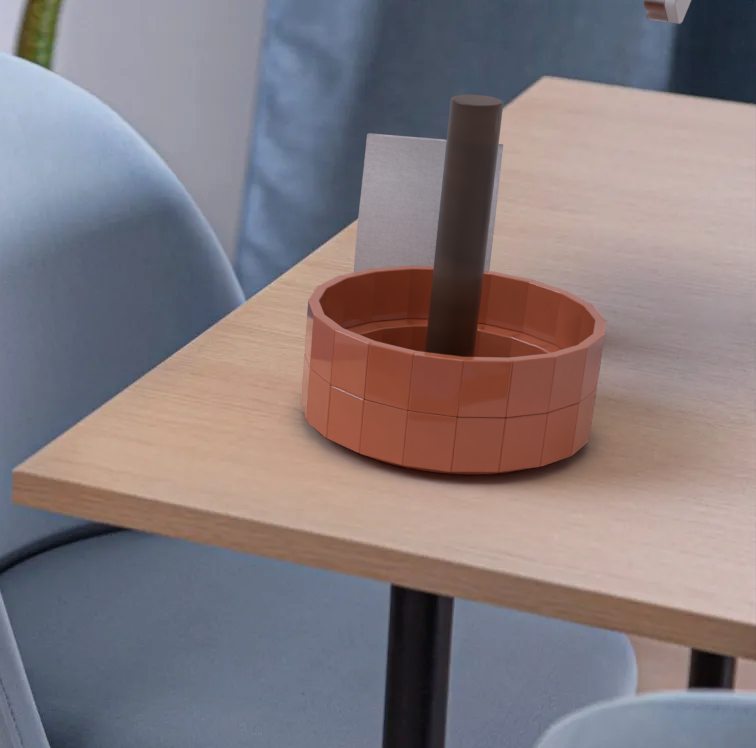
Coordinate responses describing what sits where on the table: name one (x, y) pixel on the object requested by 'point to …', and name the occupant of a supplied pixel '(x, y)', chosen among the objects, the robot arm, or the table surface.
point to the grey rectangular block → (405, 202)
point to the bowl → (451, 373)
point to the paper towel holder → (463, 224)
